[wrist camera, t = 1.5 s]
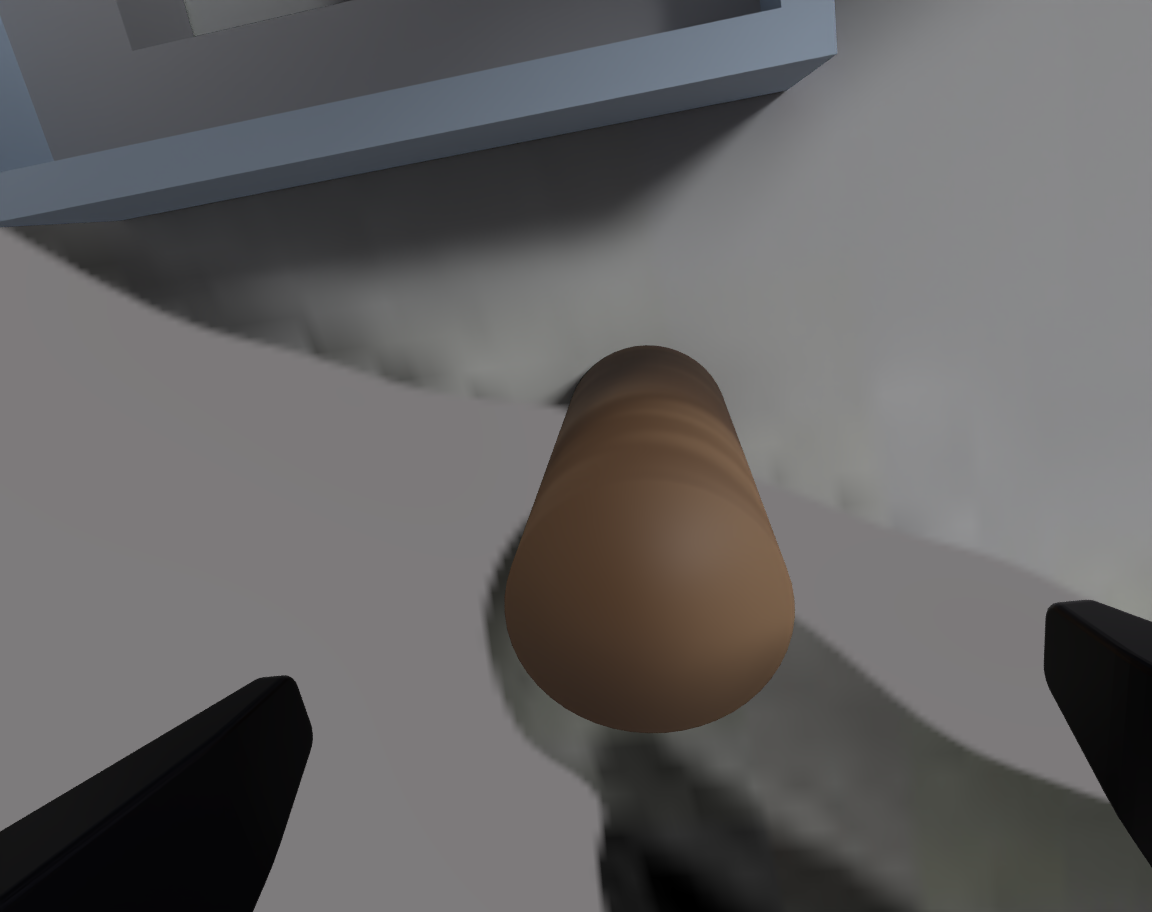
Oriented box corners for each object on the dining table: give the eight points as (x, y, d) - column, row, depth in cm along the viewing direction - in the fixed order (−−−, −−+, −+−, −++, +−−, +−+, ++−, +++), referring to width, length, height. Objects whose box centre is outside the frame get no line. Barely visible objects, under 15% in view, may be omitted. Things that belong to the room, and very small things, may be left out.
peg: (717, 333, 18) (782, 462, 9) (734, 486, 19) (805, 721, 11) (555, 358, 18) (477, 500, 10) (582, 505, 20) (533, 743, 11)
